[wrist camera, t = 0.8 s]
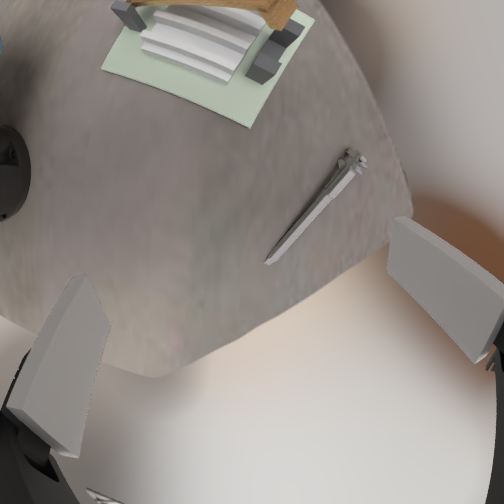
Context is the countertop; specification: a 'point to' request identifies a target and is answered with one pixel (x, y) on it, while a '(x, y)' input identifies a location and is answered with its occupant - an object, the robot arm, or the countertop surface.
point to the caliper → (320, 202)
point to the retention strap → (266, 3)
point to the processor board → (205, 54)
